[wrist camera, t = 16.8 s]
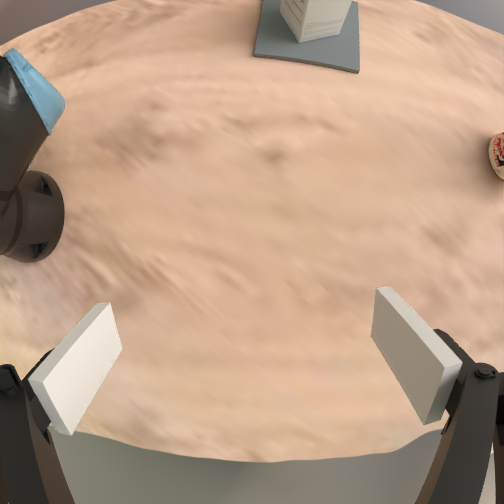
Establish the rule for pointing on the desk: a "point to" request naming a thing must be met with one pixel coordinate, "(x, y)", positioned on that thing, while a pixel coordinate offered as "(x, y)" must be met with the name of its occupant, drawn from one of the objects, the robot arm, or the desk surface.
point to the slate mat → (314, 51)
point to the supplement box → (314, 17)
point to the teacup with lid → (497, 154)
